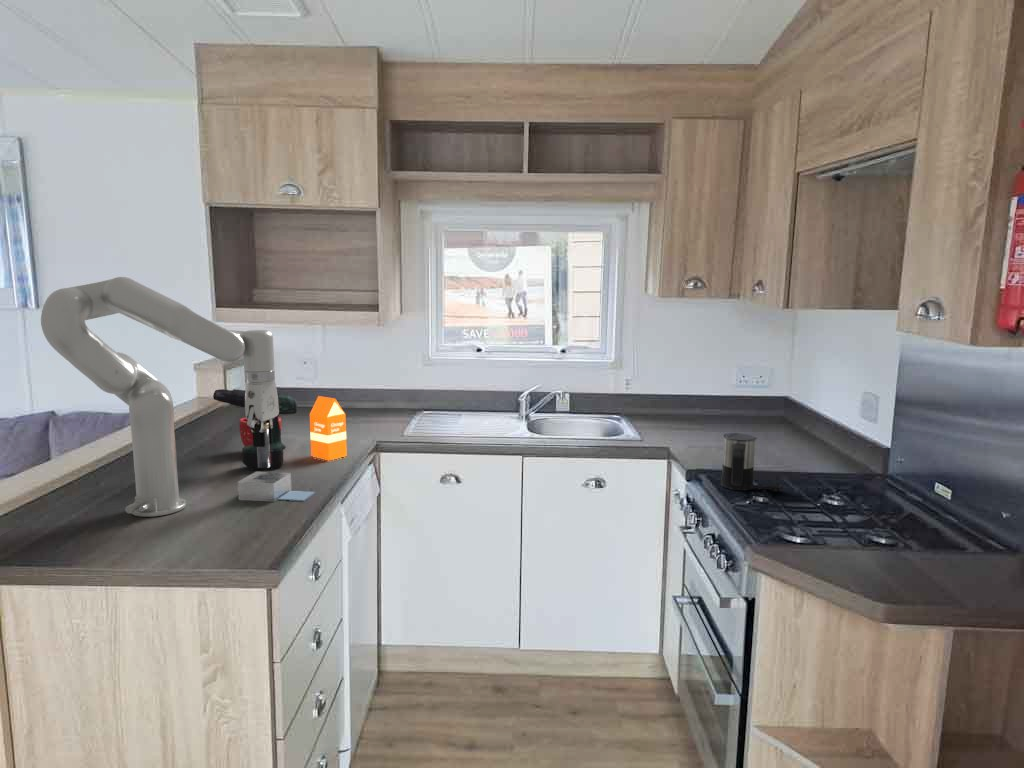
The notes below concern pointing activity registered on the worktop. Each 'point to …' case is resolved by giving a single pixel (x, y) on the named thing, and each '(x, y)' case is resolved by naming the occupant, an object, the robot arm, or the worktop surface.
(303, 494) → the rubber mat
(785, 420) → the worktop surface
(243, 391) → the power drill
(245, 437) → the plant pot
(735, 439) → the milk frother
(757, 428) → the worktop surface
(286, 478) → the block
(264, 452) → the metal cylinder with cap
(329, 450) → the orange juice
